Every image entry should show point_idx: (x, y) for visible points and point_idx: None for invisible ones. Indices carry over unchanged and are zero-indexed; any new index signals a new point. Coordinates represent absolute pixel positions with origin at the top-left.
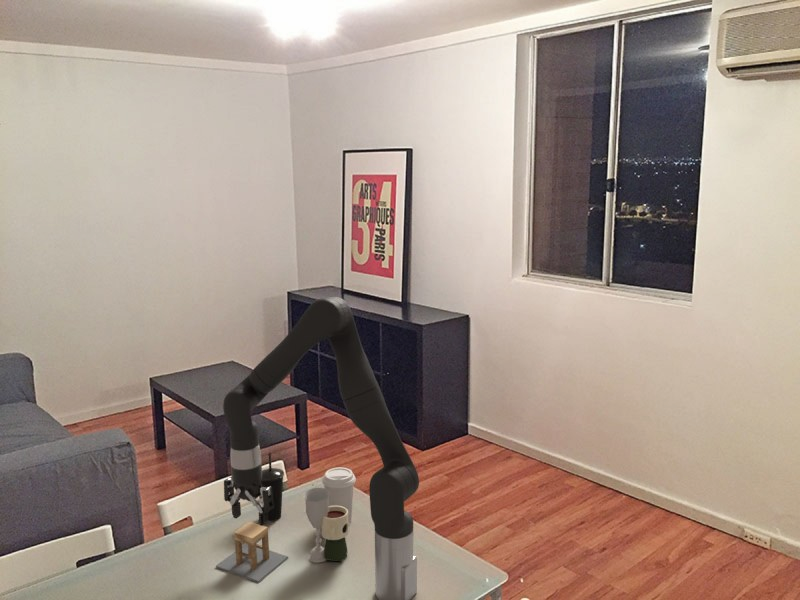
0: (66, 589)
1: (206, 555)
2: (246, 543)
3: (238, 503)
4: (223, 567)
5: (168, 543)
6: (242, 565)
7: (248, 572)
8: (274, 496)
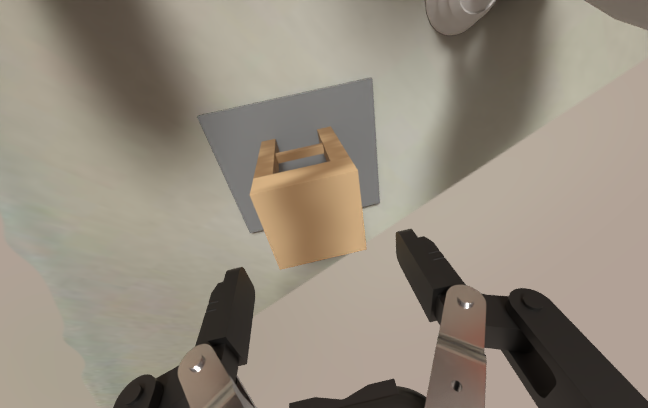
0: None
1: (179, 221)
2: (200, 119)
3: (232, 345)
4: None
5: (48, 255)
6: None
7: None
8: None
